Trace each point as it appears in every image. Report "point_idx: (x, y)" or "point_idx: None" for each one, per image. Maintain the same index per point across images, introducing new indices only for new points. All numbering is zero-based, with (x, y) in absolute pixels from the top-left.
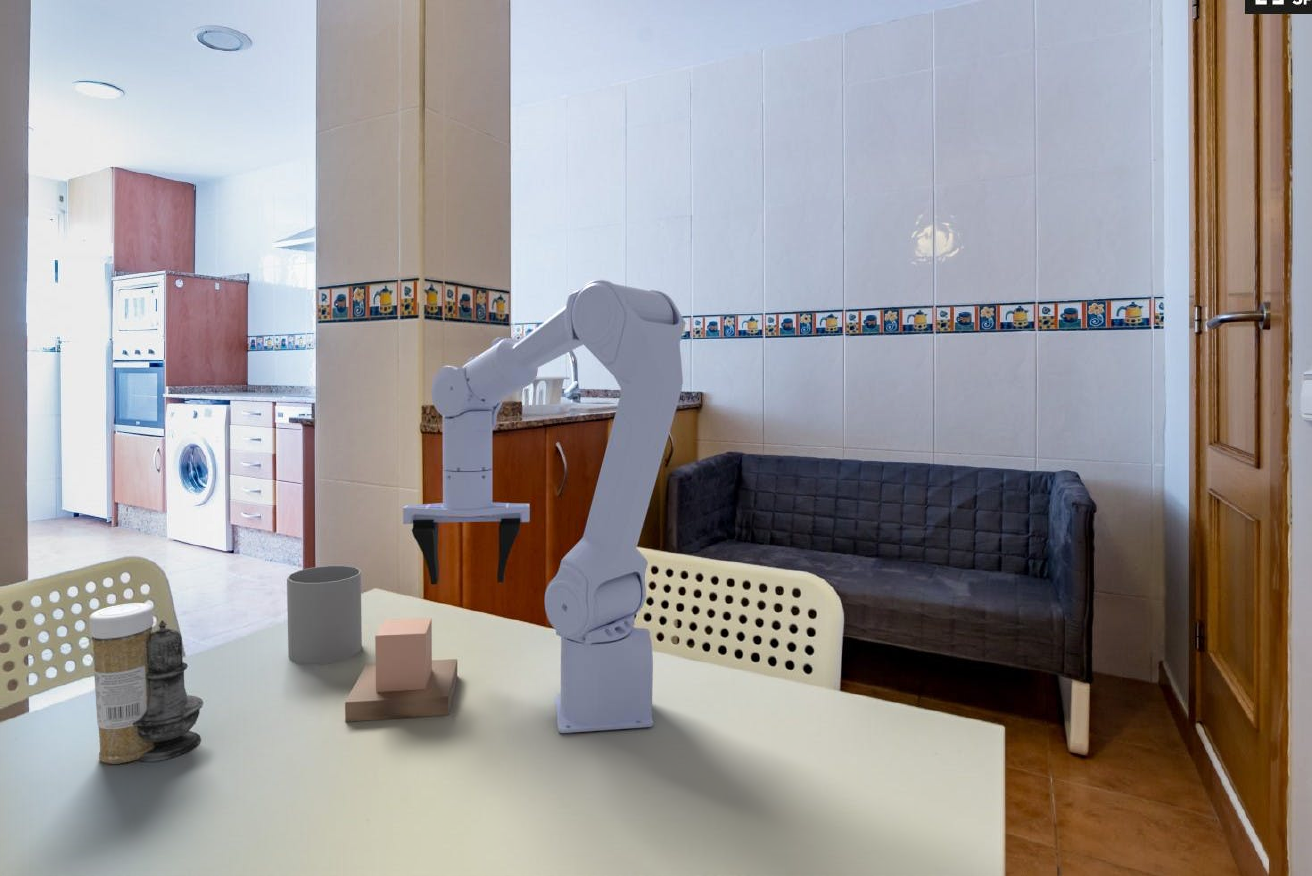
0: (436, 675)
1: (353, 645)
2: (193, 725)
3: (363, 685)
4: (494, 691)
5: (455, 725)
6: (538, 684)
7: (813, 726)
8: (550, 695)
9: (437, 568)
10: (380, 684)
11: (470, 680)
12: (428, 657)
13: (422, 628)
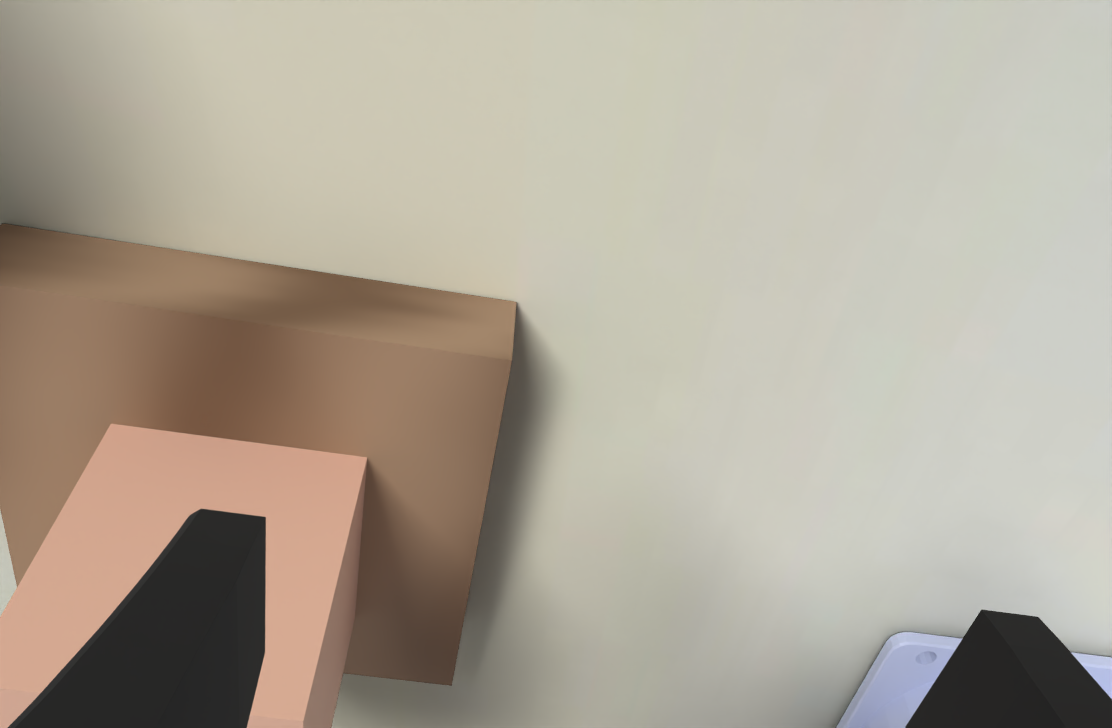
0: (395, 518)
1: None
2: None
3: (47, 526)
4: (673, 500)
5: (483, 676)
6: (889, 492)
7: None
8: (891, 586)
9: (212, 725)
10: None
11: (580, 369)
12: (337, 655)
13: None
